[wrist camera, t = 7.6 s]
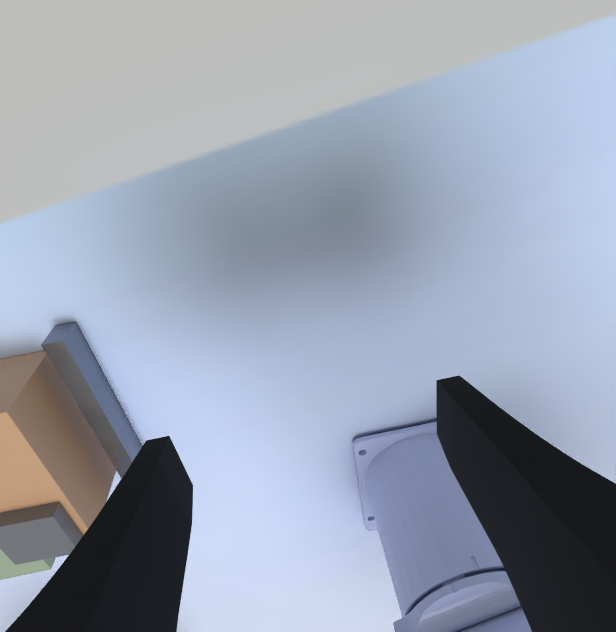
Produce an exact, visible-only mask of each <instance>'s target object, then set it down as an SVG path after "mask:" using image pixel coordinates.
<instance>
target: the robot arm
mask: <svg viewBox="0 0 616 632" xmlns="http://www.w3.org/2000/svg"><path fill="white" fill-rule="evenodd" d="M353 450H354V456H355V463H356V470H357V477H358V483H359V490H360V497H361V504H362V510H363V517H364V524H365V528H366V529H367V530H370V531H371V530H377V529H378V532H379V535H380V539H381V542H382V546H383V550H384V553H385V557H386V560H387V564H388V567H389V571H390V575H391V578H392V582H393V585H394V589H395V593H396V596H397V600H398V603H399V607H400V611H401V614H402V618H401V619H399V620H397V621H395V622H394V623H393V625H394V629H395V632H616V484H615V483H613V482H611V481H610V480H608V479H606V478H605V477H603V476H601V475H599V474H598V473H596V472H594V471H592V470H591V469H589V468H587V467H585V466H584V465H582V464H581V463H579V462H577V461H576V460H574V459H573V458H571V457H569V456H568V455H566V454H565V453H563V452H562V451H560V450H559V449H557V448H556V447H554V446H553V445H551V444H550V443H548V442H547V441H545V440H544V439H542V438H541V437H539V436H538V435H536V434H535V433H534V432H532V431H531V430H529V429H528V428H527V427H525V426H524V425H523V424H521V423H520V422H518V421H517V420H516V419H514V418H513V417H512V416H510V415H509V414H508V413H506V412H505V411H504V410H502V409H501V408H500V407H498V406H497V405H496V404H495V403H493V402H492V401H491V400H489V399H488V398H487V397H486V396H484V395H483V394H482V393H481V392H479V391H478V390H477V389H476V388H474V387H473V386H472V385H471V384H469V383H468V382H467V381H466V380H464V379H463V378H462V377H460V376H455V377H450V378H446V379H441V380H437V422H432V423H427V424H422V425H418V426H413V427H408V428H403V429H398V430H393V431H389V432H384V433H379V434H374V435H369V436H364V437H360V438H357V439H356V440H354V442H353ZM360 450H362V451H360ZM192 504H193V485H192V483H191V480H190V478H189V476H188V474H187V472H186V470H185V468H184V466H183V464H182V462H181V460H180V458H179V455H178V453H177V451H176V449H175V447H174V445H173V443H172V441H171V439H170V437H169V436H166V437H162V438H157V439H152V440H147V441H146V442H145V443H144V445H143V446H142V448H141V449H140V451H139V452H138V454H137V455H136V457H135V459H134V460H133V462H132V463H131V465H130V466H129V468H128V470H127V471H126V473H125V474H124V476H123V477H122V479H121V481H120V482H119V484H118V485H117V487H116V488H115V490H114V491H113V493H112V494H111V496H110V497H109V499H108V500H107V502H106V503H105V505H104V506H103V508H102V509H101V511H100V512H99V514H98V515H97V517H96V518H95V520H94V521H93V523H92V524H91V526H90V527H89V528H88V530H87V531H86V532H85V534H84V535H83V537H82V538H81V539H80V541H79V542H78V543H77V545H76V546H75V548H74V549H73V550H72V552H71V553H70V555H69V556H68V557H67V559H66V560H65V561H64V563H63V564H62V565H61V566H60V568H59V569H58V570H57V572H56V573H55V574H54V575H53V577H52V578H51V579H50V580H49V582H48V583H47V584H46V585H45V587H44V588H43V589H42V590H41V591H40V593H39V594H38V595H37V596H36V597H35V599H34V600H33V601H32V602H31V603H30V605H29V606H28V607H27V608H26V609H25V610H24V612H23V613H22V614H21V615H20V616H19V617H18V618H17V619H16V621H15V622H14V623H13V624H12V625H11V626H10V627H9V628H8V629H7V630H6V632H176V630H177V621H178V614H179V607H180V600H181V594H182V587H183V581H184V574H185V567H186V561H187V554H188V547H189V540H190V533H191V526H192Z"/></svg>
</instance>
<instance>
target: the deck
mask: <svg viewBox="0 0 616 632" xmlns="http://www.w3.org/2000/svg"><path fill="white" fill-rule="evenodd" d="M55 558H56V557H54V558H49V559H44V560H39V561H34V562H28V563H23V564H18V565H15V564H14V563H13V562H12V561H11V560H10V559H9V558H8V557H7V556H6V554H5V553H4V552H3V551H2V550H1V549H0V580H2V579H6V578H11V577H16V576H21V575H26V574H30V573H35V572H40V571H45V570H49V569H51V568H52V565H53V563H54V560H55Z"/></svg>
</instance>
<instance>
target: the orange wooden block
mask: <svg viewBox="0 0 616 632" xmlns="http://www.w3.org/2000/svg"><path fill="white" fill-rule="evenodd" d="M115 472H116V468H115V467H114V465H113V463H112V462H111V460H110V458H109V457H108V455H107V453H106V452H105V450H104V448H103V447H102V445H101V443H100V442H99V440H98V438H97V437H96V435H95V433H94V432H93V430H92V429H91V427H90V425H89V424H88V422H87V420H86V419H85V417H84V415H83V414H82V412H81V410H80V409H79V407H78V405H77V404H76V402H75V400H74V399H73V397H72V395H71V394H70V392H69V390H68V389H67V387H66V385H65V384H64V382H63V380H62V379H61V377H60V375H59V374H58V372H57V370H56V369H55V367H54V365H53V364H52V362H51V360H50V359H49V357H48V355H47V354H46V352H45V351H41V352H35V353H30V354H24V355H18V356H13V357H7V358H2V359H0V549H1V550H2V551H3V552H4V553H5V554H6V556H7V557H8V558H9V559H10V560H11V561H12V562H13V563H14V564H15V565H18V564H23V563H28V562H34V561H39V560H44V559H49V558H54V557H59V556H64V555H69V554H70V553H71V552H72V550H73V549H74V548H75V546H76V545H77V543H78V542H79V541H80V539H81V538H82V537H83V535H84V534H85V532H86V531H87V530H88V528H89V527H90V526H91V524H92V523H93V521H94V520H95V518H96V517H97V515H98V514H99V512H100V511H101V509H102V508H103V506H104V505H105V503H106V500H107V497H108V494H109V491H110V488H111V485H112V482H113V478H114V475H115Z"/></svg>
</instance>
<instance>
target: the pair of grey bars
mask: <svg viewBox="0 0 616 632" xmlns="http://www.w3.org/2000/svg"><path fill="white" fill-rule="evenodd" d="M41 346H42V347H43V349H44V350H45V352H46V354H47V355H48V357H49V359H50V360H51V362H52V364H53V365H54V367H55V369H56V370H57V372H58V374H59V375H60V377H61V379H62V380H63V382H64V384H65V385H66V387H67V389H68V390H69V392H70V394H71V395H72V397H73V399H74V400H75V402H76V404H77V405H78V407H79V409H80V410H81V412H82V414H83V415H84V417H85V419H86V420H87V422H88V424H89V425H90V427H91V429H92V430H93V432H94V433H95V435H96V437H97V438H98V440H99V442H100V443H101V445H102V447H103V448H104V450H105V452H106V453H107V455H108V457H109V458H110V460H111V462H112V463H113V465H114V467H115V468H116V470H117V472H118V473H119V475H120V477H121V478H122V477H123V476H124V474H125V473H126V471H127V470H128V468H129V466H130V465H131V463H132V462H133V460H134V459H135V457H136V455H137V454H138V452H139V451H140V449H141V448H142V446H141V444H140V442H139V440H138V438H137V436H136V434H135V432H134V431H133V429H132V427H131V425H130V423H129V421H128V419H127V417H126V416H125V414H124V412H123V410H122V408H121V406H120V404H119V402H118V400H117V399H116V397H115V395H114V393H113V391H112V389H111V387H110V385H109V383H108V382H107V380H106V378H105V376H104V374H103V372H102V370H101V368H100V367H99V365H98V363H97V361H96V359H95V357H94V355H93V353H92V351H91V350H90V348H89V346H88V344H87V342H86V340H85V338H84V336H83V334H82V333H81V331H80V329H79V327H78V325H77V323H76V322H72V323H67V324H62V325H57V326H55V327H54V328H53V329H52V331H51V332H50V333H49V335H48V336H47V337H46V339H45V340H44V342H43V343H42V344H41Z"/></svg>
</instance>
